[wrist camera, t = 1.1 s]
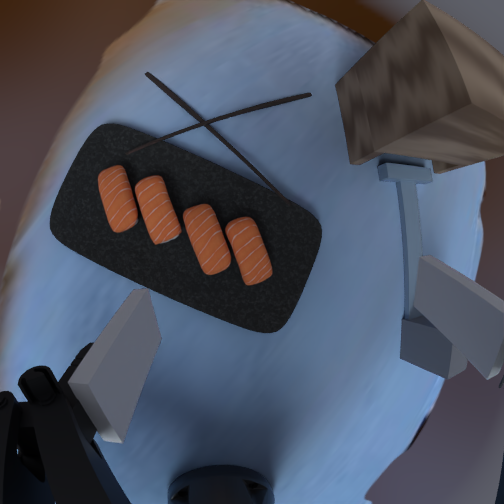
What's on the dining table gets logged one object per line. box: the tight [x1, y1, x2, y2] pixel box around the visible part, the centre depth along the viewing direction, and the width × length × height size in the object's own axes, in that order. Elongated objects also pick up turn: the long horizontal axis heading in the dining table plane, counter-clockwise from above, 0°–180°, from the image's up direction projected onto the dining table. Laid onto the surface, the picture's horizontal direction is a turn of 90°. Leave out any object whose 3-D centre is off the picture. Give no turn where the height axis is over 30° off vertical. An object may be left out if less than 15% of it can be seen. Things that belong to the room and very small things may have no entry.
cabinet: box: [335, 0, 504, 174], centre depth 26 cm, size 13×18×20 cm
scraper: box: [378, 163, 468, 379], centre depth 32 cm, size 27×9×10 cm, turn 5°
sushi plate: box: [50, 72, 322, 333], centre depth 30 cm, size 29×30×4 cm
